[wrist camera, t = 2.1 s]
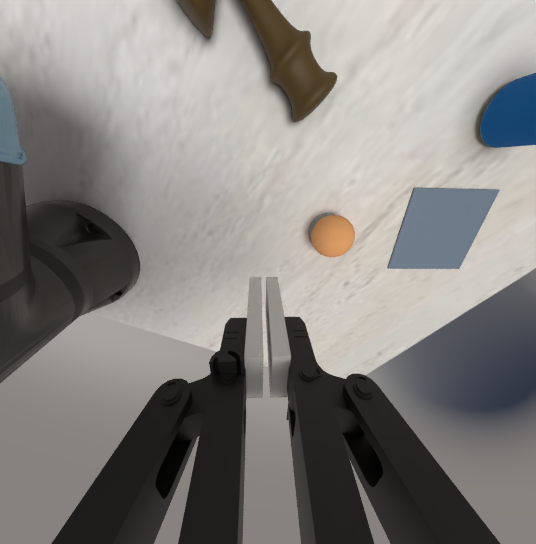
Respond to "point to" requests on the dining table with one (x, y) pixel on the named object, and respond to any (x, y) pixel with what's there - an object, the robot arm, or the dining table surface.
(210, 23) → the kendama
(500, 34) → the dining table surface
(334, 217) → the ball
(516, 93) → the beverage can
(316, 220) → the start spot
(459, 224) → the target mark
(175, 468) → the robot arm
